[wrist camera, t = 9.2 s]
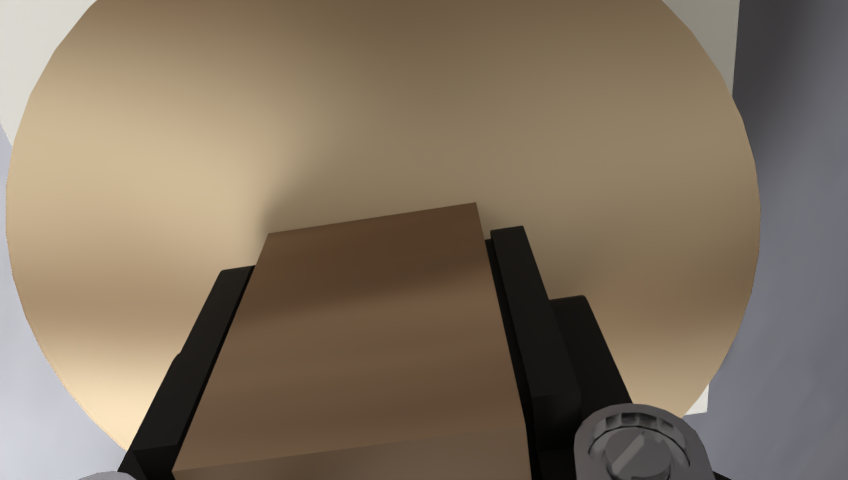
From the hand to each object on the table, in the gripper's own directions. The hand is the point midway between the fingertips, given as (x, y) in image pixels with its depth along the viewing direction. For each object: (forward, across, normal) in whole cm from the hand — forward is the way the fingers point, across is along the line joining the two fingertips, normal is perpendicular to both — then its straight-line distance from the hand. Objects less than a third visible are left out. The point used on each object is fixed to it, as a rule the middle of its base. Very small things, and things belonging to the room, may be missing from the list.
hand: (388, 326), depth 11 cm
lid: (+2, 0, 0) cm, 2 cm away
